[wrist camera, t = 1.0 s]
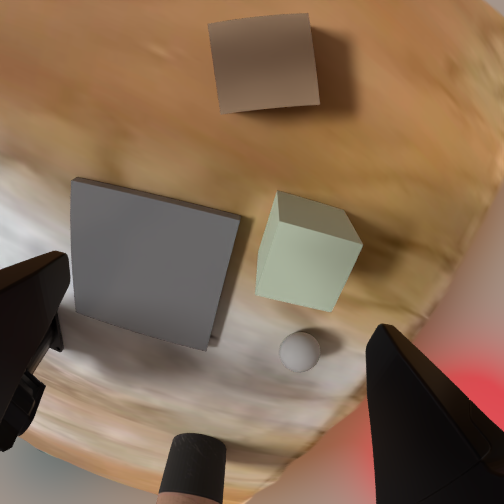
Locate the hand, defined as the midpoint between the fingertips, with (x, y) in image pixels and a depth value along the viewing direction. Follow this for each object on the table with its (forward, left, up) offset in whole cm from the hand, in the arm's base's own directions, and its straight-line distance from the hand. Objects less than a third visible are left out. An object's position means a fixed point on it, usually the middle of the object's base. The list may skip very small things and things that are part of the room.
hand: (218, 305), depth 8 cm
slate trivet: (-9, +6, -13) cm, 16 cm away
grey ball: (-12, -7, -11) cm, 18 cm away
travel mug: (-35, -2, -13) cm, 37 cm away
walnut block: (+7, +1, -13) cm, 15 cm away
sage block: (-3, -4, -13) cm, 14 cm away
